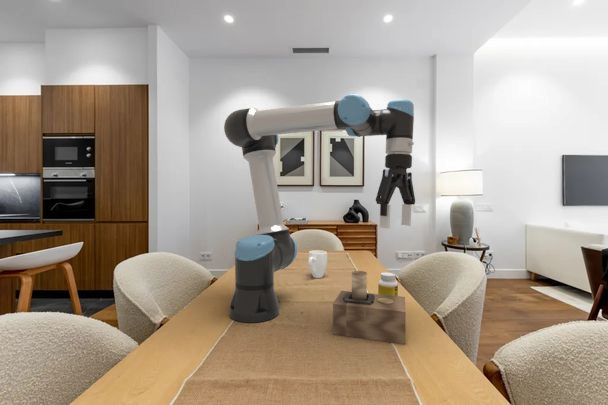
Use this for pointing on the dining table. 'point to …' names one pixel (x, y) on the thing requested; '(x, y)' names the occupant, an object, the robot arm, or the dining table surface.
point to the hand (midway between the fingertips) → (395, 226)
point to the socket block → (370, 317)
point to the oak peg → (359, 285)
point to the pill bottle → (388, 284)
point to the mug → (317, 262)
